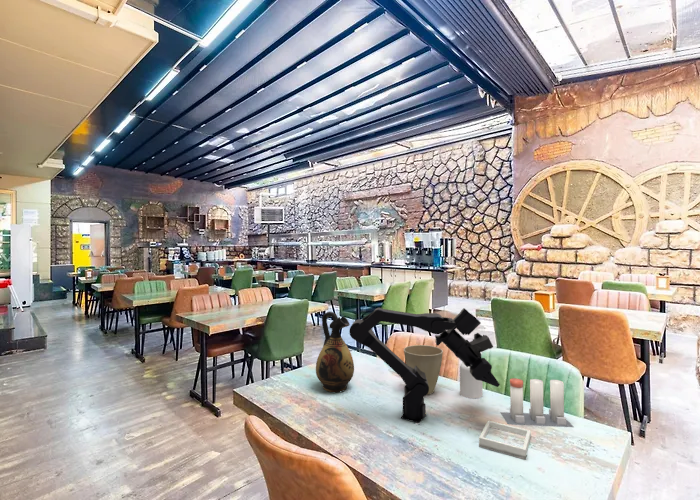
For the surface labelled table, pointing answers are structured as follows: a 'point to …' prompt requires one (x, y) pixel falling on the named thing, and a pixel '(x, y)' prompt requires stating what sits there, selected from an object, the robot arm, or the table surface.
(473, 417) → the table surface
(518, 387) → the white cylinder orange top
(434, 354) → the plant pot
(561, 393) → the fuse panel
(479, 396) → the pill bottle
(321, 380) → the ceramic jug
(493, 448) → the tray
